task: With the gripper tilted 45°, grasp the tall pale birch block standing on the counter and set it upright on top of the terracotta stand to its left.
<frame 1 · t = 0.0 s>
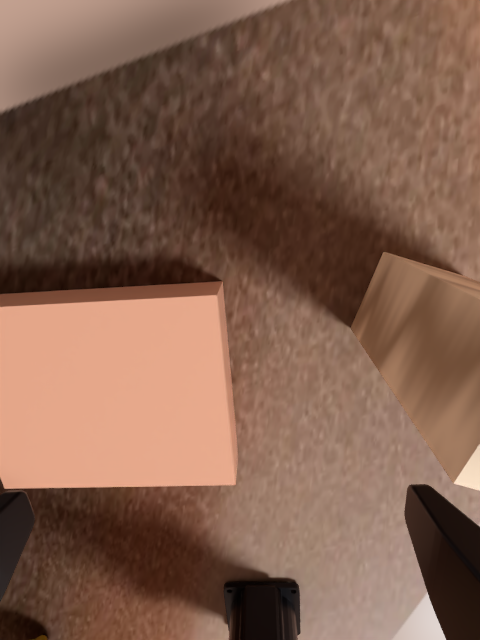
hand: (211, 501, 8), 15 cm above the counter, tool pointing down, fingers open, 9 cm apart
birch block: (405, 302, 21), on the counter
lemon: (45, 633, 35), on the counter
terracotta stand: (115, 379, 24), on the counter
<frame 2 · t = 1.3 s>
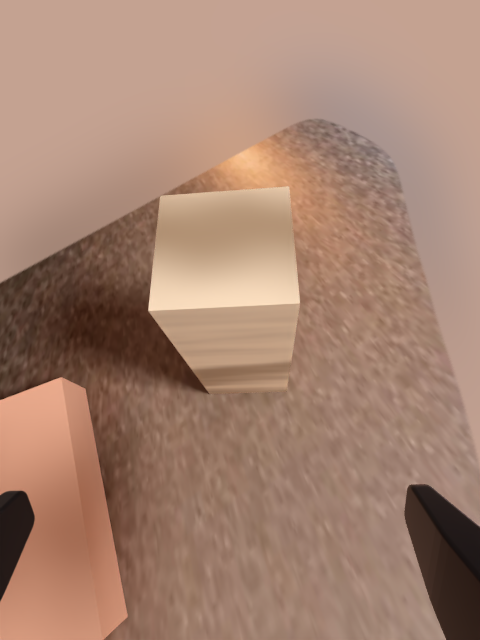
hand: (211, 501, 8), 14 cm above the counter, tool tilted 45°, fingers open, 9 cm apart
birch block: (247, 356, 24), on the counter
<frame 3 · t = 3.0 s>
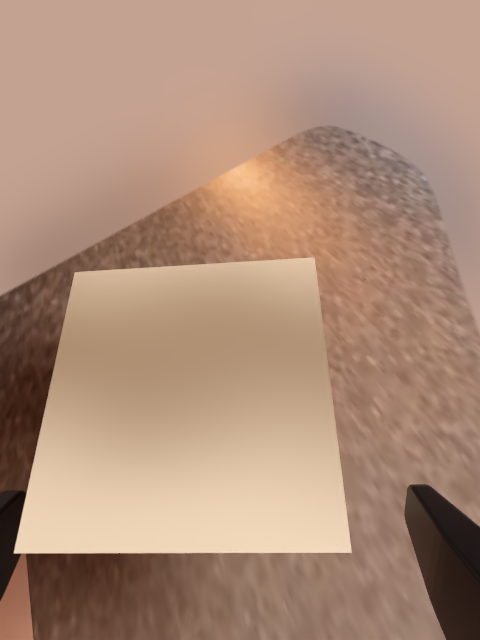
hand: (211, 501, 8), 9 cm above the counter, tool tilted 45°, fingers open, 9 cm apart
birch block: (242, 449, 17), on the counter
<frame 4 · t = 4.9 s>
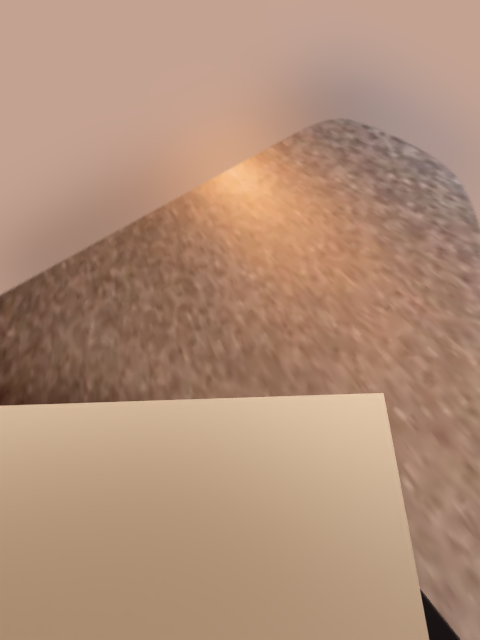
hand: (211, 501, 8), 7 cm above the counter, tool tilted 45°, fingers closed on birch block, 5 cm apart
birch block: (237, 532, 14), on the counter, touching gripper
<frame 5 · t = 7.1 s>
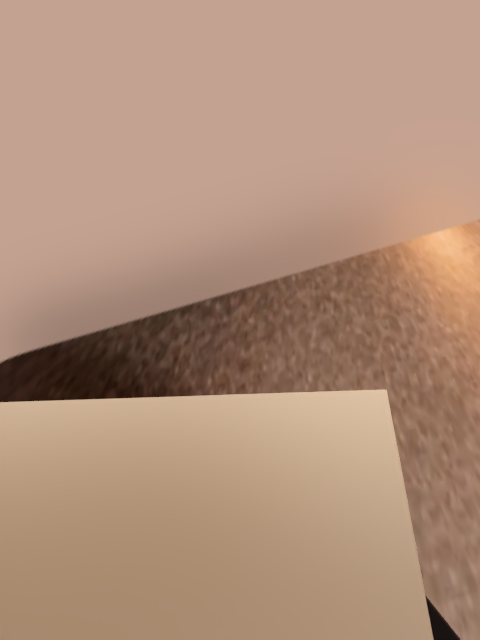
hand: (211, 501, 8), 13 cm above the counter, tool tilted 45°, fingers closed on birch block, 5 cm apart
birch block: (238, 531, 14), point 6 cm above the counter, touching gripper
when the fingers open (11 cm above the counter, at t = 9.4 s): birch block drops 1 cm, resting on terracotta stand.
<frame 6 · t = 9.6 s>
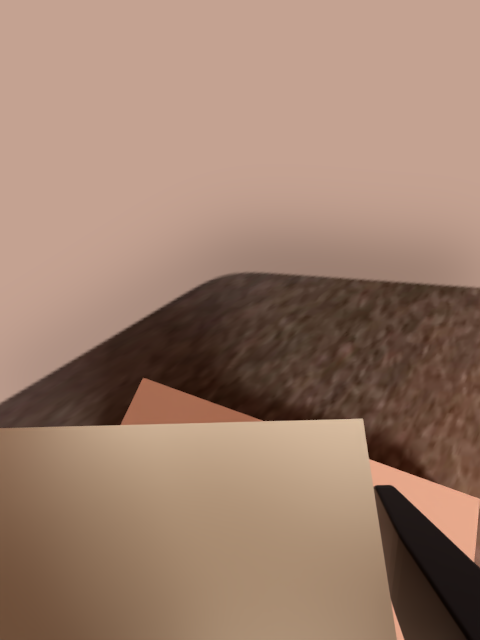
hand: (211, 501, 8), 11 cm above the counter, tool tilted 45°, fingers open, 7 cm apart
birch block: (241, 526, 15), point 3 cm above the counter, touching terracotta stand
terracotta stand: (251, 574, 17), on the counter
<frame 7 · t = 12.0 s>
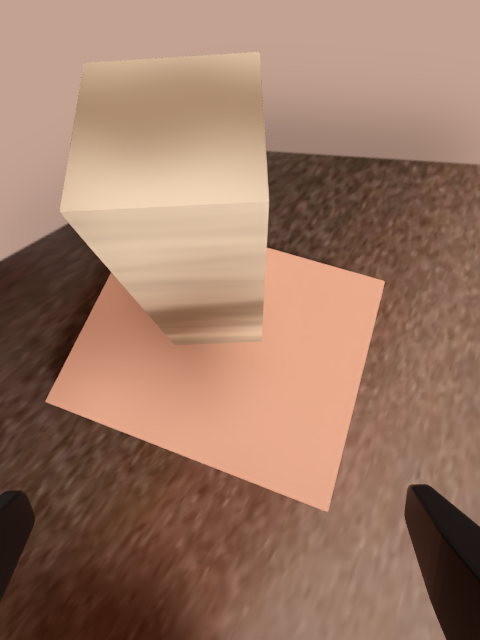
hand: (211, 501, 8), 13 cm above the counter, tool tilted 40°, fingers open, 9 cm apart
birch block: (217, 302, 21), point 3 cm above the counter, touching terracotta stand
terracotta stand: (225, 351, 23), on the counter
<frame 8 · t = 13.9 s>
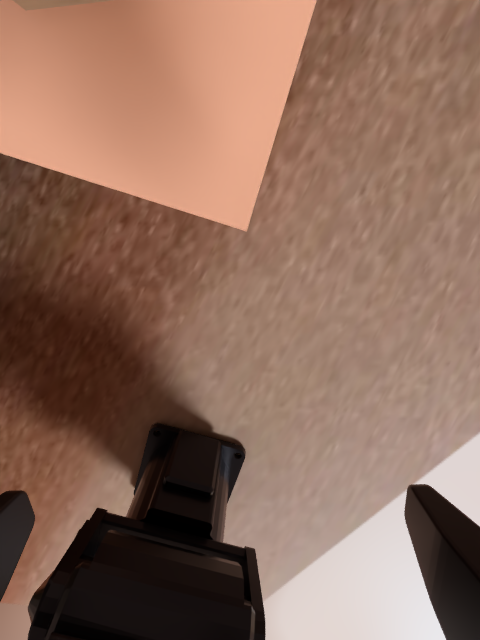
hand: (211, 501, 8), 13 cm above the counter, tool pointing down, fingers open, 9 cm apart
terracotta stand: (122, 28, 16), on the counter
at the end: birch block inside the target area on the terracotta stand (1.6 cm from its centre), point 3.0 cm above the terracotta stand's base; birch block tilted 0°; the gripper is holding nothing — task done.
